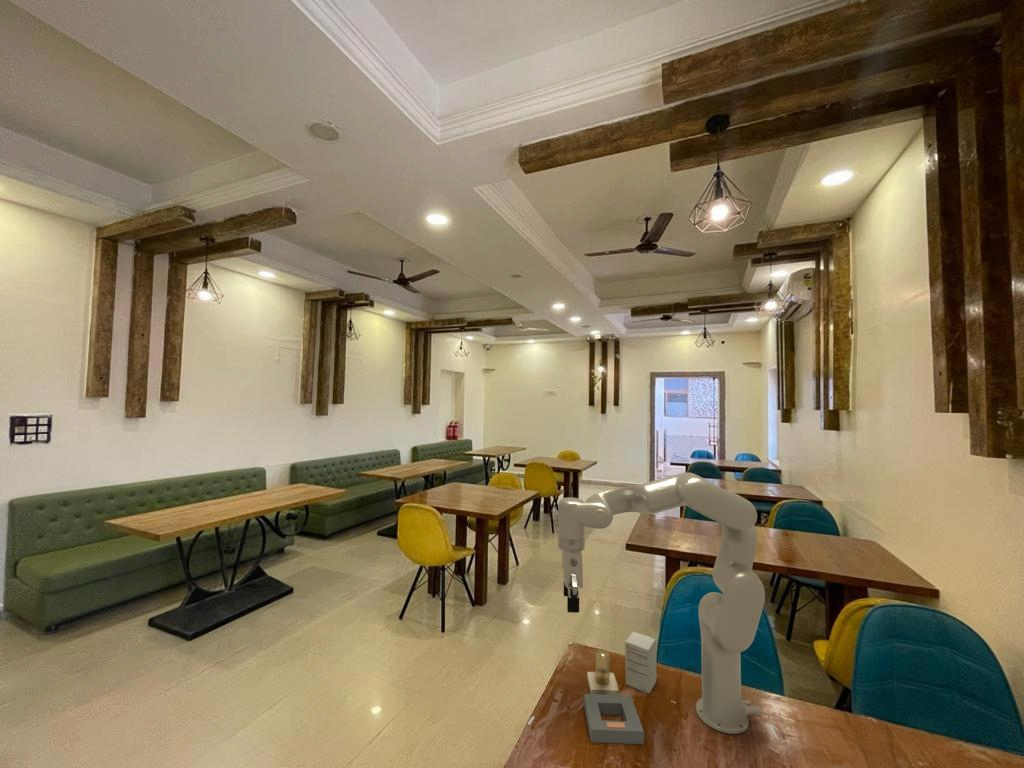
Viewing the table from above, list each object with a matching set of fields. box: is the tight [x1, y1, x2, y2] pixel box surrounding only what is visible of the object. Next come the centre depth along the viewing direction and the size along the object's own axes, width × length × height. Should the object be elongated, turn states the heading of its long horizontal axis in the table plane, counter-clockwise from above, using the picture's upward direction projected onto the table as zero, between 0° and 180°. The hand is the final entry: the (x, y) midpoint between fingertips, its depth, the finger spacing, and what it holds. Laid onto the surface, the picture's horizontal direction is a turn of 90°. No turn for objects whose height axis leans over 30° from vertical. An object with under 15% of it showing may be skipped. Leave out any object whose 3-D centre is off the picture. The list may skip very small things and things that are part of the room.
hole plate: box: [583, 693, 645, 745], centre depth 110 cm, size 13×13×3 cm
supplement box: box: [624, 631, 657, 694], centre depth 127 cm, size 7×7×13 cm
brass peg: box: [595, 648, 611, 685], centre depth 124 cm, size 4×4×8 cm
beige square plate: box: [586, 671, 620, 695], centre depth 124 cm, size 8×8×2 cm
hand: (571, 603), depth 120 cm, fingers open, 9 cm apart
